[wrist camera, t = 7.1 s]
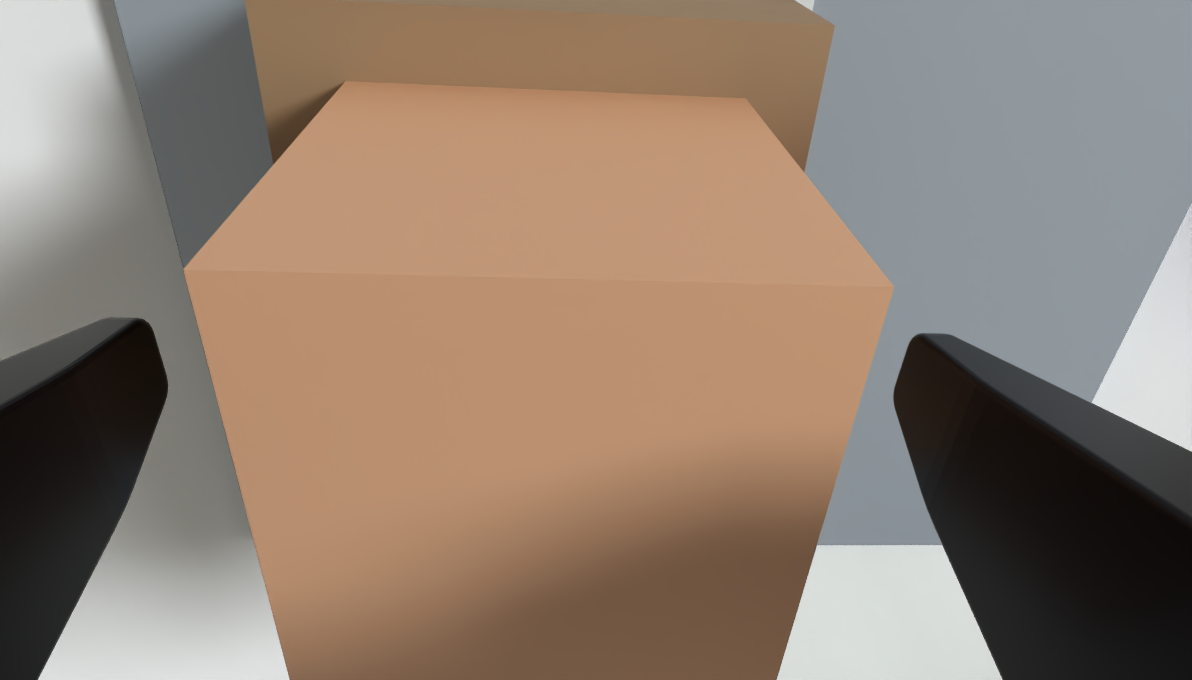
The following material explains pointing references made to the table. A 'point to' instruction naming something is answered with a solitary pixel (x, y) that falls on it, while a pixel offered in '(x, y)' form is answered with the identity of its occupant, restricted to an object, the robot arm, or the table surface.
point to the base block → (544, 52)
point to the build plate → (864, 181)
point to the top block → (535, 383)
